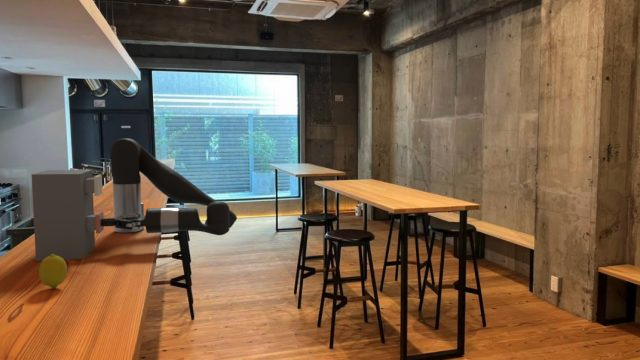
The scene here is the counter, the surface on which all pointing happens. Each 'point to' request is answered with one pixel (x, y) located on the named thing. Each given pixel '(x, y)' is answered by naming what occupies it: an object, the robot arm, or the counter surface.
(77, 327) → the counter surface
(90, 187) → the upper plunger
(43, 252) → the grey dispenser box
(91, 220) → the lower plunger
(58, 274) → the lemon
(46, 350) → the counter surface
